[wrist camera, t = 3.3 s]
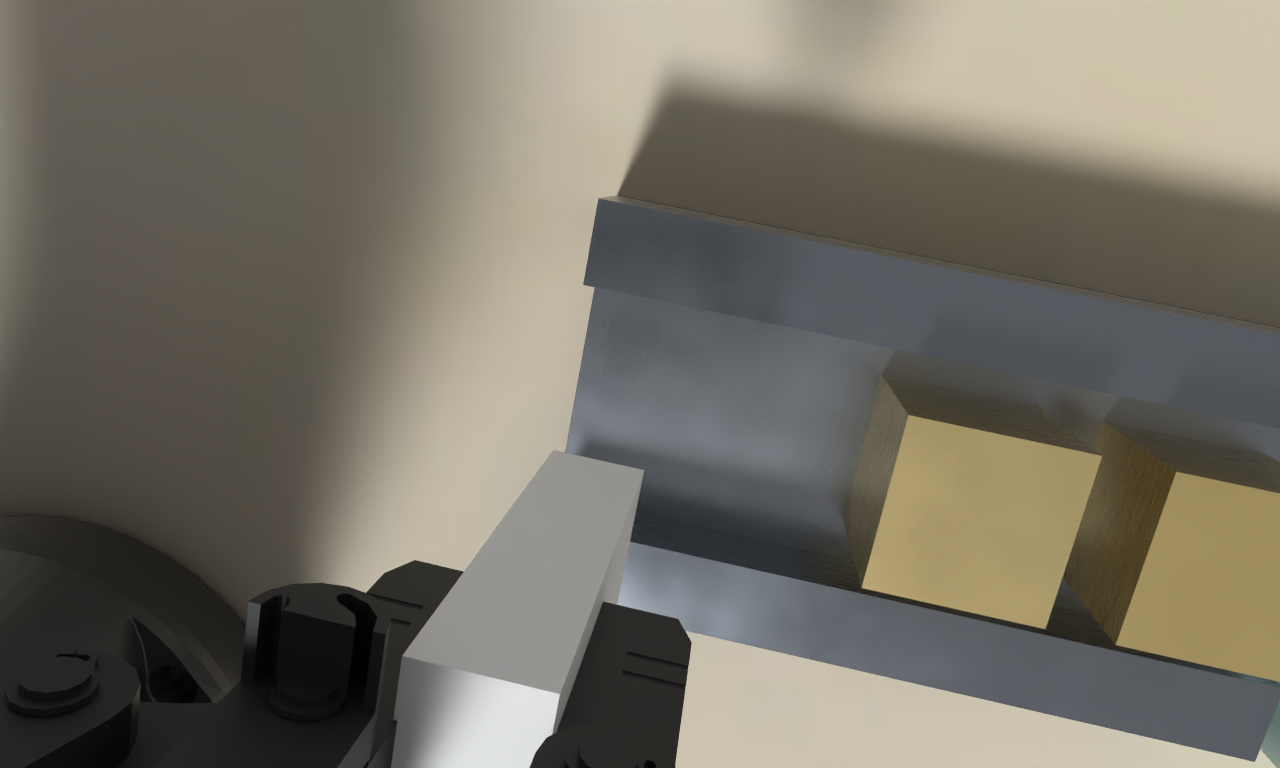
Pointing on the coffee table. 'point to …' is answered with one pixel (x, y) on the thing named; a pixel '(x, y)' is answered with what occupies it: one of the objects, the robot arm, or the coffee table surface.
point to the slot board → (834, 435)
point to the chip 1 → (967, 501)
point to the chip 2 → (1183, 550)
